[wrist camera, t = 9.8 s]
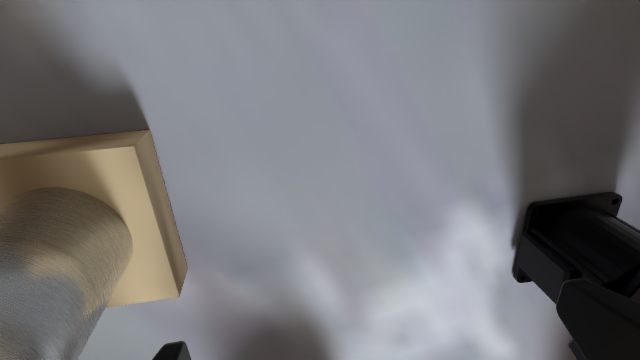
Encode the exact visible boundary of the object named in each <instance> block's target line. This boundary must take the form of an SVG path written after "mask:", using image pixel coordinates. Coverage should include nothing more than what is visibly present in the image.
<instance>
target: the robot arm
mask: <svg viewBox="0 0 640 360" xmlns="http://www.w3.org/2000/svg"><path fill="white" fill-rule="evenodd" d="M621 202H622V196H620V195H619V194H617V193H615V192H609V193H602V194H594V195H586V196H578V197H570V198H563V199H555V200H547V201H539V202H534V203H532V204H530V206H529V207H528V209H527V214H526V218H525V223H524V227H523V232H522V237H521V241H520V246H519V251H518V255H517V260H516V265H515V269H514V274H513V277H514V278H515V280H516V281H517V282H519V283H524V282H531V281H533V282H534V283H535V284H536V285H537V286H538V287H539V288H540V289H541V290H542V291H543V292H544V293H545V294H546V295H547V296H548V297H549V298H550V299H551V300H552V301H553V302H554V303H555V304H556V310H557V313H558V315H559V317H560V319H561V320H562V322H563V324H564V325H565V327H566V328H567V330H568V331H569V333H570V335H571V336H572V338H573V339H572V340H571V341H570V342H569V343H568V345H569V347H570V349H571V350H572V352H573V353H574V355H575V356H576V359H577V360H640V230H638V229H636V228H634V227H633V226H631V225H629V224H628V223H626V222H624V221H623V220H621V219H619V218H618V217H616V216H617V214H618V211H619V208H620V205H621ZM152 360H191V357H190V354H189V351H188V348H187V345H186V343H185V342H184V341H179V342H172V343H167V344H165V345H164V346H163V347H162V348H161V349H160V350H159V352H158V353H157V354H156V355H155V357H154V358H153V359H152Z"/></svg>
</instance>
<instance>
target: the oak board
mask: <svg viewBox="0 0 640 360" xmlns="http://www.w3.org/2000/svg"><path fill="white" fill-rule="evenodd" d="M47 187H61V188H68V189H73V190H78V191H81V192H84V193H87V194H89V195H92V196H94V197H96V198H98V199H100V200H101V201H103V202H105V203H106V204H107V205H109V206H110V207H111V208H113V209H114V210H115V211H116V212H117V213H118V214H119V215H120V216H121V218H122V219H123V220H124V222H125V223H126V225H127V227H128V229H129V231H130V233H131V237H132V241H133V253H132V257H131V260H130V262H129V264H128V266H127V268H126V270H125V272H124V274H123V276H122V277H121V279H120V281H119V283H118V285H117V287H116V289H115V291H114V292H113V294H112V296H111V298H110V300H109V302H108V304H107V305H106V307H113V306H120V305H127V304H134V303H141V302H148V301H155V300H162V299H169V298H177V297H180V293H181V290H182V286H183V283H184V280H185V276H186V273H187V270H188V267H187V264H186V260H185V256H184V253H183V249H182V246H181V242H180V238H179V235H178V231H177V227H176V224H175V220H174V216H173V213H172V209H171V206H170V202H169V198H168V195H167V191H166V187H165V184H164V180H163V176H162V173H161V169H160V166H159V162H158V158H157V155H156V151H155V147H154V144H153V140H152V136H151V133H150V130H142V131H132V132H121V133H111V134H101V135H90V136H80V137H70V138H59V139H49V140H39V141H28V142H18V143H7V144H0V209H1V208H2V207H3V206H5V205H6V204H7V203H9V202H10V201H11V200H13V199H14V198H16V197H17V196H19V195H21V194H23V193H25V192H28V191H31V190H34V189H39V188H47ZM106 307H105V308H106Z"/></svg>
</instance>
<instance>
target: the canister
mask: <svg viewBox="0 0 640 360" xmlns="http://www.w3.org/2000/svg"><path fill="white" fill-rule="evenodd" d="M132 253H133V241H132V237H131V233H130V231H129V229H128V227H127V225H126V223H125V222H124V220H123V219H122V218H121V216H120V215H119V214H118V213H117V212H116V211H115V210H114V209H113V208H111V207H110V206H109V205H107V204H106V203H105V202H103V201H101V200H100V199H98V198H96V197H94V196H92V195H89V194H87V193H84V192H81V191H78V190H73V189H68V188H61V187H47V188H39V189H34V190H31V191H28V192H25V193H23V194H21V195H19V196H17V197H16V198H14V199H13V200H11V201H10V202H9V203H7V204H6V205H5V206H3V207H2V208H1V209H0V360H78V358H79V356H80V354H81V352H82V350H83V348H84V347H85V345H86V343H87V341H88V339H89V337H90V335H91V333H92V332H93V330H94V328H95V326H96V324H97V322H98V320H99V319H100V317H101V315H102V313H103V311H104V309H105V307H106V305H107V304H108V302H109V300H110V298H111V296H112V294H113V292H114V291H115V289H116V287H117V285H118V283H119V281H120V279H121V277H122V276H123V274H124V272H125V270H126V268H127V266H128V264H129V262H130V260H131V257H132Z"/></svg>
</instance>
